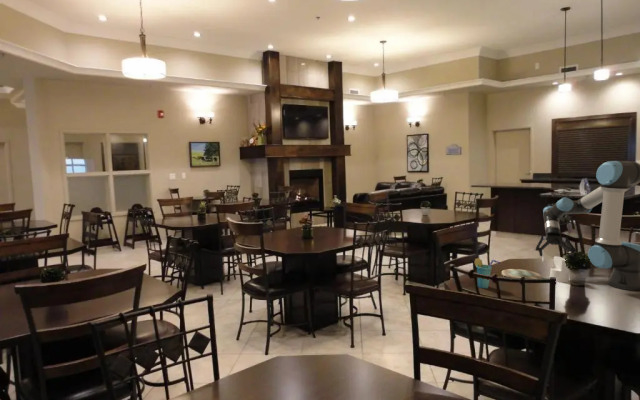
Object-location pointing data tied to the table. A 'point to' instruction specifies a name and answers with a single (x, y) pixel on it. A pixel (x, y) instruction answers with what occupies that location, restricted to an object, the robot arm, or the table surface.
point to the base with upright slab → (560, 270)
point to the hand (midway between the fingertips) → (557, 261)
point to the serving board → (520, 274)
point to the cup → (483, 272)
